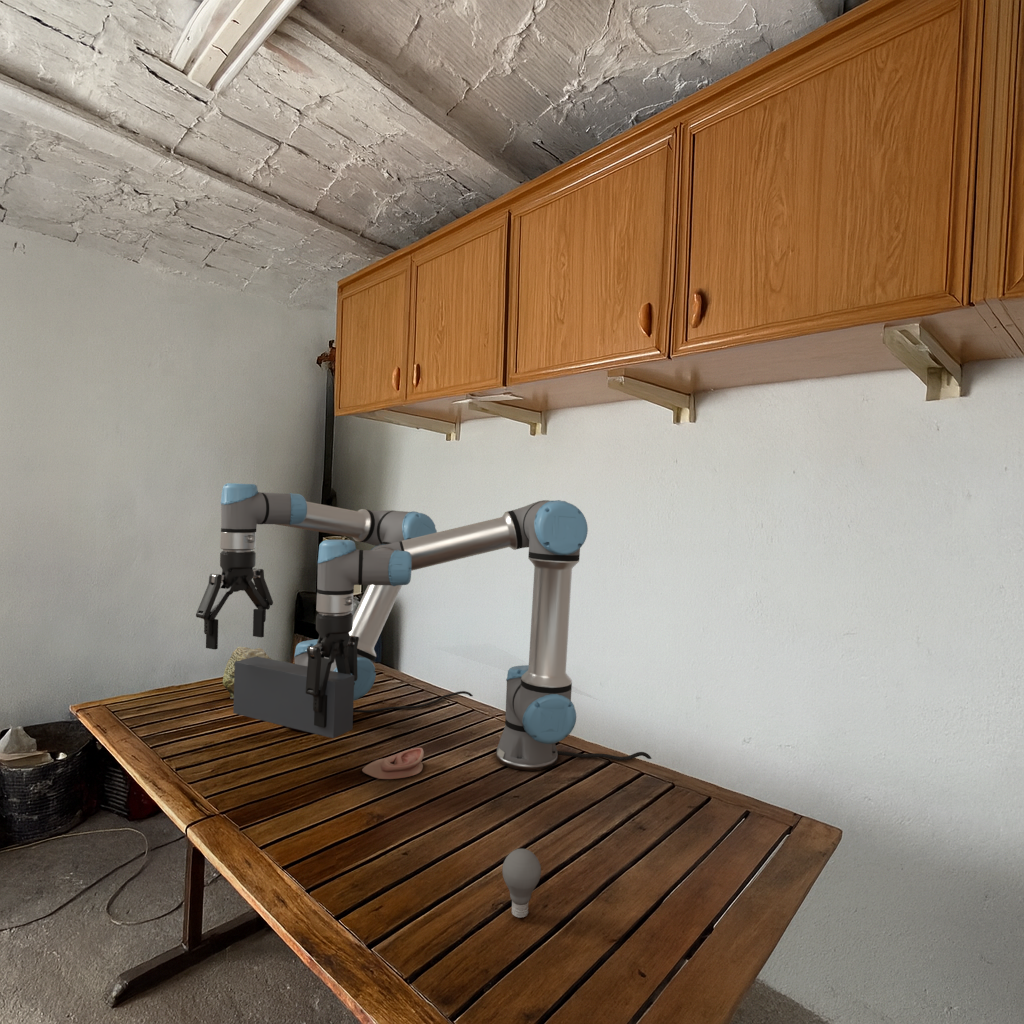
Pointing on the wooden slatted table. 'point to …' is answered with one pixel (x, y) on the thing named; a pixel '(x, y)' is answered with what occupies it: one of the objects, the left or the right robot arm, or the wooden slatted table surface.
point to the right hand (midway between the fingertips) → (331, 720)
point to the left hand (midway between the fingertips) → (236, 642)
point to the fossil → (239, 655)
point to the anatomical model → (397, 765)
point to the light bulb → (521, 878)
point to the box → (291, 696)
